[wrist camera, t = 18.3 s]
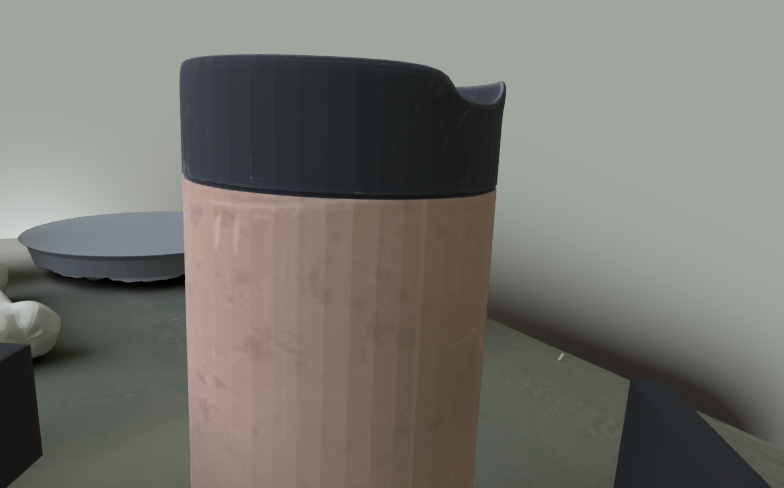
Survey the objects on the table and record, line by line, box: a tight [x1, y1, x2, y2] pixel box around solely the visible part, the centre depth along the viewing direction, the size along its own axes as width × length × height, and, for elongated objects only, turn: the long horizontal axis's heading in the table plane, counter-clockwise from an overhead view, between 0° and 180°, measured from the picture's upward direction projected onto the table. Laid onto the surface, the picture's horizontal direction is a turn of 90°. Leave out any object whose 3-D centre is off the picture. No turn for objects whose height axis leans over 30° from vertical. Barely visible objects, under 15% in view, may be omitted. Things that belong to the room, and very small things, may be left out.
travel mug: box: [180, 54, 506, 488], centre depth 15 cm, size 8×8×20 cm
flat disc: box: [18, 212, 185, 283], centre depth 70 cm, size 28×28×4 cm
